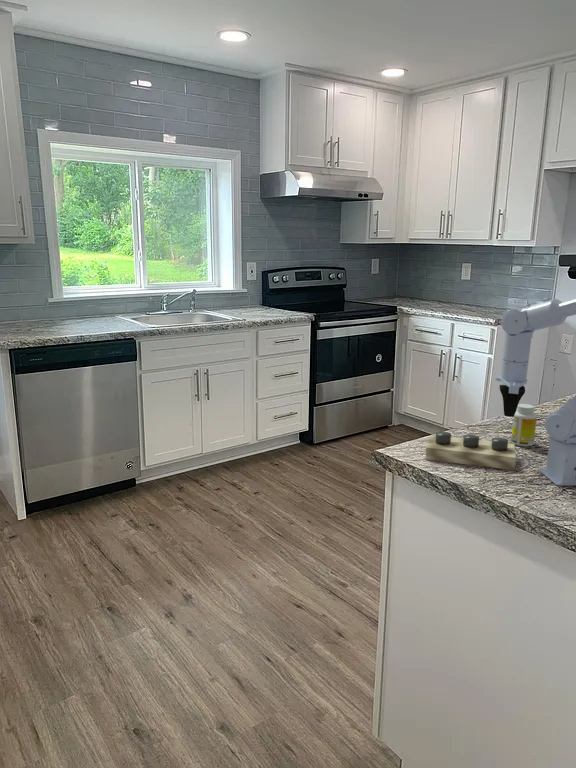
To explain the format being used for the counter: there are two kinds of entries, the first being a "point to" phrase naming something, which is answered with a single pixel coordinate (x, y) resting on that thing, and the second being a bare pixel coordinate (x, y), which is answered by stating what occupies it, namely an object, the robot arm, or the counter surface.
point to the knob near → (499, 444)
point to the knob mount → (471, 453)
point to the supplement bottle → (524, 425)
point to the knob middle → (471, 441)
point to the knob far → (443, 438)
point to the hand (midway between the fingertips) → (509, 415)
